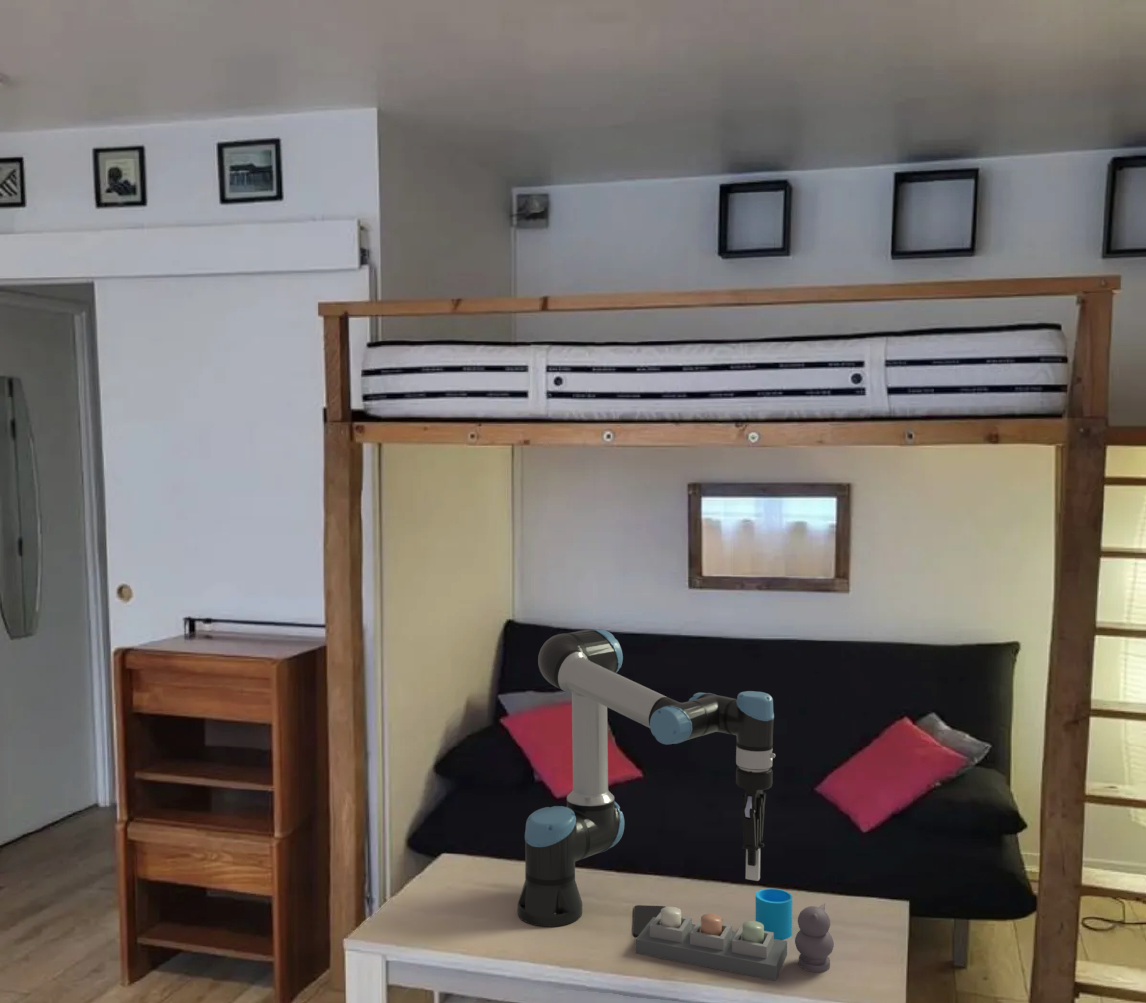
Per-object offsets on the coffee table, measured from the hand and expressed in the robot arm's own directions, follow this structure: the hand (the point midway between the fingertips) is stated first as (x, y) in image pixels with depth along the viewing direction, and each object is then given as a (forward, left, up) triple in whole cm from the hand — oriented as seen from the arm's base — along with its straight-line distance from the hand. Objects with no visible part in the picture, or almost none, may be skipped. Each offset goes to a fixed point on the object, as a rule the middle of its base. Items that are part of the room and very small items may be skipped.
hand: (752, 878), depth 210 cm
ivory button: (-18, 0, -14) cm, 23 cm away
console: (-9, 0, -18) cm, 20 cm away
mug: (+1, +18, -18) cm, 25 cm away
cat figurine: (+12, +4, -18) cm, 22 cm away
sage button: (0, 0, -14) cm, 14 cm away
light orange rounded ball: (-9, 0, -14) cm, 17 cm away
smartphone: (-26, +10, -18) cm, 33 cm away
